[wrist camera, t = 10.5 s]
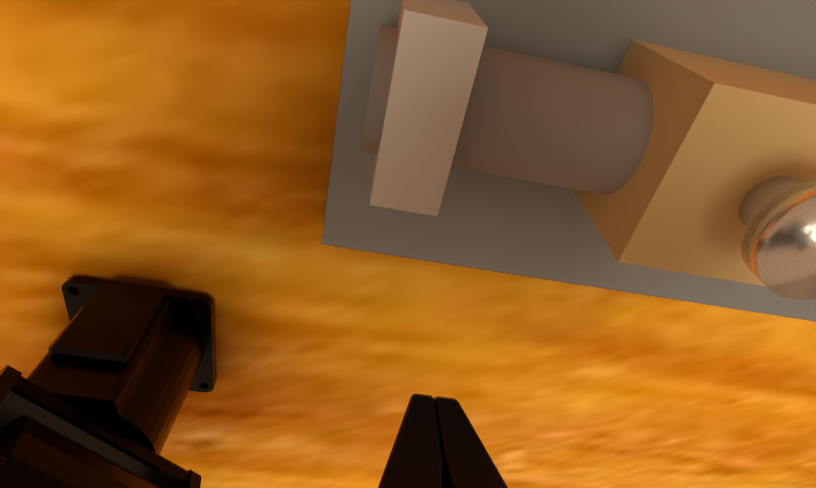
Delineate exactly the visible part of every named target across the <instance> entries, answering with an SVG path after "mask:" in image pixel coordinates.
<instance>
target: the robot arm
mask: <svg viewBox="0 0 816 488" xmlns="http://www.w3.org/2000/svg"><path fill="white" fill-rule="evenodd" d="M75 287H76V288H77V289H76V288H75ZM62 292H63V296H64V299H65V303H66V307H67V311H68V315H69V319H70V322H69V324H68V325H67V326H66V327H65V328H64V330H63V331H62V332H61V333H60V334H59V336H58V337H57V338H56V339H55V340H54V342H53V343H52V344H51V345H50V347H49V349H48V350H49V352H48V353H47V354H46V355H45V357H44V358H43V359H42V360H41V361H40V363H39V364H38V365H37V366H36V368H35V369H34V370H33V371H32V372H31V374H30V375H29V376H28V377H27V379H26V378H24V377H22V376H21V375H22V373H21V372H19V371H17V370H16V369H14V368H12V367H10V366H9V365H7V366H6V367H4V368H3V369H2V370H0V488H200V484H201V476H200V475H199V474H197V473H195V472H193V471H192V470H189V471H187V470H185V469H183V468H181V467H180V466H178V465H176V464H174V463H173V462H171V461H169V460H167V459H166V458H164V457H162V456H160V455H159V454H160V452H161V450H162V448H163V446H164V443H165V441H166V439H167V437H168V435H169V432H170V430H171V428H172V426H173V424H174V421H175V419H176V417H177V415H178V413H179V410H180V408H181V406H182V404H183V402H184V399H185V397H186V395H187V393H188V390H189V391H198V392H210V391H212V390H213V388H214V386H215V383H216V366H215V334H214V304H213V301H212V299H211V298H210V297H208V296H206V295H203V294H196V293H189V292H182V291H175V290H168V289H161V288H154V287H147V286H139V285H132V284H125V283H118V282H111V281H104V280H97V279H90V278H82V277H70V278H69V279H68V280H67V281H66V282H65V283H64V284H63V285H62ZM199 304H201V305H203V306H204V307H203V306H200V305H199ZM378 488H508V487H507V485H506V484H505V482H504V480H503V478H502V477H501V475H500V473H499V471H498V470H497V468H496V466H495V465H494V463H493V461H492V459H491V458H490V456H489V454H488V452H487V451H486V449H485V447H484V445H483V444H482V442H481V440H480V439H479V437H478V435H477V433H476V432H475V430H474V428H473V426H472V425H471V423H470V421H469V419H468V418H467V416H466V414H465V412H464V411H463V409H462V407H461V406H460V404H459V402H458V401H457V400H456V399H453V398H446V397H435V398H433V397H432V396H430V395H422V394H413V395H412V396H411V398H410V401H409V403H408V406H407V409H406V412H405V415H404V417H403V420H402V423H401V426H400V428H399V431H398V434H397V437H396V439H395V442H394V445H393V448H392V451H391V453H390V456H389V459H388V462H387V464H386V467H385V470H384V473H383V475H382V478H381V481H380V484H379V487H378Z"/></svg>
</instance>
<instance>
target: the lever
mask: <svg viewBox="0 0 816 488" xmlns="http://www.w3.org/2000/svg"><path fill="white" fill-rule="evenodd" d="M742 257H743V260H744V262H745V264H746V266H747V267H748V268H749V269H750V270H751V271H752V272H753V273H754V274H755V275H756V276H757V277H758V278H759V279H760V280H761V281H762V282H763V283H764V284H765V285H766V286H767V287H768V288H769V289H770V290H771V291H772V292H773V293H775V294H777V295H779V296H782V297H785V298H789V299H798V300H805V299H815V298H816V178H814V179H811V180H808V181H805V182H802V183H800V184H798V185H796V186H793V187H791V188H790V189H788V190H786V191H784V192H783V193H781V194H780V195H778V196H777V197H775V198H774V199H773V200H771V201H770V202H769V203H768V204H767V205H766V206H765V207H764V208H762V209H761V210H760V212H759V213H758V214H757V215H756V216H755V217H754V219H753V220H752V222H751V223H750V225H749V226H748V228H747V230H746V232H745V235H744V238H743V242H742Z"/></svg>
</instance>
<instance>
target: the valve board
mask: <svg viewBox="0 0 816 488" xmlns="http://www.w3.org/2000/svg"><path fill="white" fill-rule="evenodd" d="M814 178H816V0H351V4H350V12H349V20H348V29H347V37H346V45H345V54H344V62H343V70H342V79H341V87H340V95H339V104H338V112H337V120H336V129H335V137H334V145H333V154H332V162H331V170H330V179H329V187H328V195H327V204H326V212H325V220H324V229H323V237H322V244H323V245H330V246H336V247H343V248H349V249H355V250H362V251H368V252H375V253H381V254H387V255H394V256H400V257H407V258H413V259H419V260H426V261H432V262H438V263H445V264H451V265H458V266H464V267H470V268H477V269H483V270H490V271H496V272H502V273H509V274H515V275H522V276H528V277H534V278H541V279H547V280H554V281H560V282H566V283H573V284H579V285H585V286H592V287H598V288H605V289H611V290H617V291H624V292H630V293H637V294H643V295H649V296H656V297H662V298H669V299H675V300H681V301H688V302H694V303H700V304H707V305H713V306H720V307H726V308H732V309H739V310H745V311H752V312H758V313H764V314H771V315H777V316H784V317H790V318H796V319H803V320H809V321H815V322H816V298H815V299H805V300H798V299H789V298H785V297H782V296H779V295H777V294H775V293H773V292H772V291H771V290H770V289H769V288H768V287H767V286H766V285H765V284H764V283H763V282H762V281H761V280H760V279H759V278H758V277H757V276H756V275H755V274H754V273H753V272H752V271H751V270H750V269H749V268H748V267H747V266H746V264H745V262H744V260H743V257H742V242H743V238H744V235H745V232H746V230H747V228H748V226H749V225H750V223H751V222H752V220H753V219H754V217H755V216H756V215H757V214H758V213H759V212H760V210H761V209H762V208H764V207H765V206H766V205H767V204H768V203H769V202H770V201H771V200H773V199H774V198H775V197H777V196H778V195H780V194H781V193H783V192H784V191H786V190H788V189H790V188H791V187H793V186H796V185H798V184H800V183H802V182H805V181H808V180H811V179H814Z"/></svg>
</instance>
